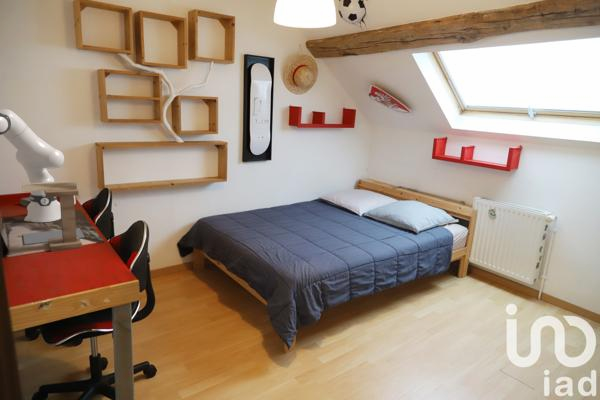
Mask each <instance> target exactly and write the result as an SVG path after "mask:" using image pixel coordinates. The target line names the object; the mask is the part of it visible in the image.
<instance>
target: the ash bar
mask: <svg viewBox="0 0 600 400" xmlns="http://www.w3.org/2000/svg"><path fill="white" fill-rule="evenodd" d="M77 186H78V185H77V181H76V180H73V181H72V180H70V181H68V180H67V181H54V182H46V183H30V182H29V183H27V182H26V183H21V189H22V190H21V191H22V193H31V192H33V191H50V190H67V189H77ZM77 190H78V189H77Z"/></svg>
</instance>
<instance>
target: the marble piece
mask: <svg viewBox="0 0 600 400" xmlns="http://www.w3.org/2000/svg"><path fill="white" fill-rule="evenodd" d="M30 203H31V200H30V196H28V197H22V198H20V199H19V204H20V205H21V206H23V207H25V208H27V206H28V205H29V204H30Z"/></svg>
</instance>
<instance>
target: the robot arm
mask: <svg viewBox="0 0 600 400" xmlns="http://www.w3.org/2000/svg"><path fill="white" fill-rule="evenodd" d="M0 136H4V138H5V139H6V140H7V141H8V142H9V143H10V144H11V145H12V147H14V148H15V149H17V150H16V152H15V158H16V160H17V162H18V163H19V164H20V165H21V166H22V167H23V169H24V170H25V172H26V174H27V178H28V180H29V183H46V182H55V178H54V177H53V176H52V174H50V173H49V171H48V170H53V169H59V168H61V167H62V166H63V165H64V163H65V156H64V153H63V152H62V151H61V150H59V149H56V148H55V147H53V146H52V145H50V144H49V143H47V142H46V141H45V140H43V138H40V137H39V136H38V135H37V134H36V133H35V132H34V131H33V130H32V129H31V128H30V127H29V125H27V123H26V122H25V121H24V120H23V119H22V118H21V117H20V115H17V114H16V113H15V112H14V111H12V110H11V109H9V108H2V109H0ZM29 197H30V200H31V203H30V204H29V205H28V206H27V207H26V211H28V212H27V215H26V216H25V217H24V222H32V223H47V222H48V223H50V222H55V221H59V220H61V210H60V201H58V200H57V199H58V197H48V198H46V195H45V193H44V191H33V192H30V194H29Z"/></svg>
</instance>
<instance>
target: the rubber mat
mask: <svg viewBox="0 0 600 400" xmlns="http://www.w3.org/2000/svg"><path fill="white" fill-rule="evenodd" d="M76 235H78V237H79V239H80V240H81V239H85V236H84V233H83V232H82V230H81V228H80V227H76ZM22 237H23V242H24V243H23V244H24V246H29V245H31V246H32V245H38V244H39V245H40V244H45V243H46V244H47V243H48V239H52V238H60V237H62V229H59V230H58V229H57V230H47V231H38V232H31V233H30V232H28V233H23V234H22Z"/></svg>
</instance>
